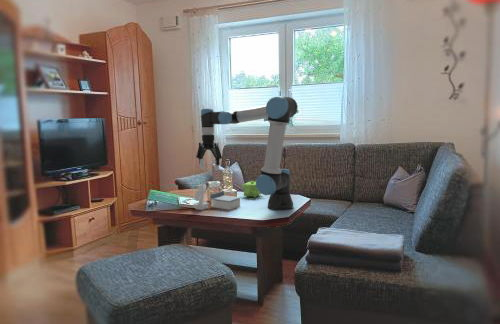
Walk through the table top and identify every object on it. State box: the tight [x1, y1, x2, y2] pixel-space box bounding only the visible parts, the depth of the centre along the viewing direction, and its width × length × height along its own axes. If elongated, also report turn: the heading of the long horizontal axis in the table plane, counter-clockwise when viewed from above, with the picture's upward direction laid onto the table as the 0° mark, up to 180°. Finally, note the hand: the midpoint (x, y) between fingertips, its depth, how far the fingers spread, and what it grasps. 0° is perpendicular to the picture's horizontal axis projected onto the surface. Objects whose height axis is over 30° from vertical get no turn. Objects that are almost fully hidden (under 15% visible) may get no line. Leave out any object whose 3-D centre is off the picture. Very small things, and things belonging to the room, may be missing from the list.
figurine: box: [192, 184, 210, 211], centre depth 215 cm, size 7×9×15 cm
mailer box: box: [210, 198, 241, 210], centre depth 219 cm, size 14×10×5 cm
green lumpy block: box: [241, 180, 261, 198], centre depth 249 cm, size 15×13×11 cm
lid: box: [209, 190, 242, 202], centre depth 219 cm, size 14×11×3 cm
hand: (209, 169), depth 224 cm, fingers open, 11 cm apart
